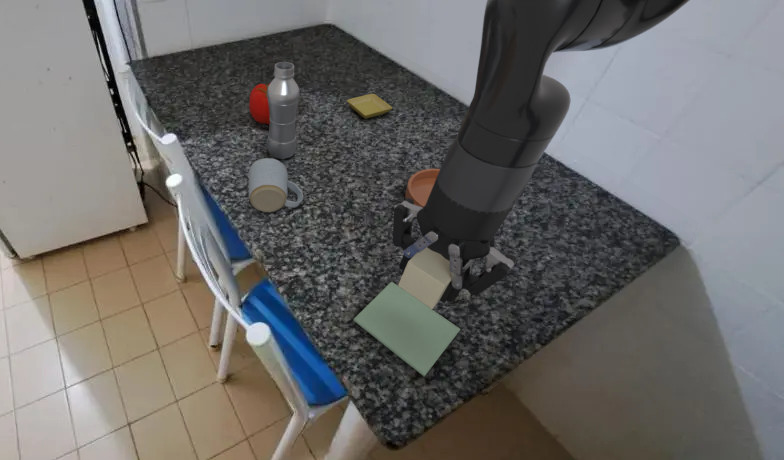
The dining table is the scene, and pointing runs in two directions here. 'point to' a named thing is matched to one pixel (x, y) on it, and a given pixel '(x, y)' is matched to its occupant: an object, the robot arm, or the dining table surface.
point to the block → (426, 277)
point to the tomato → (260, 104)
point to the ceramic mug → (271, 186)
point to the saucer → (369, 105)
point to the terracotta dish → (421, 186)
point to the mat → (407, 327)
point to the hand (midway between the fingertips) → (425, 284)
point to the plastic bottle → (282, 111)
